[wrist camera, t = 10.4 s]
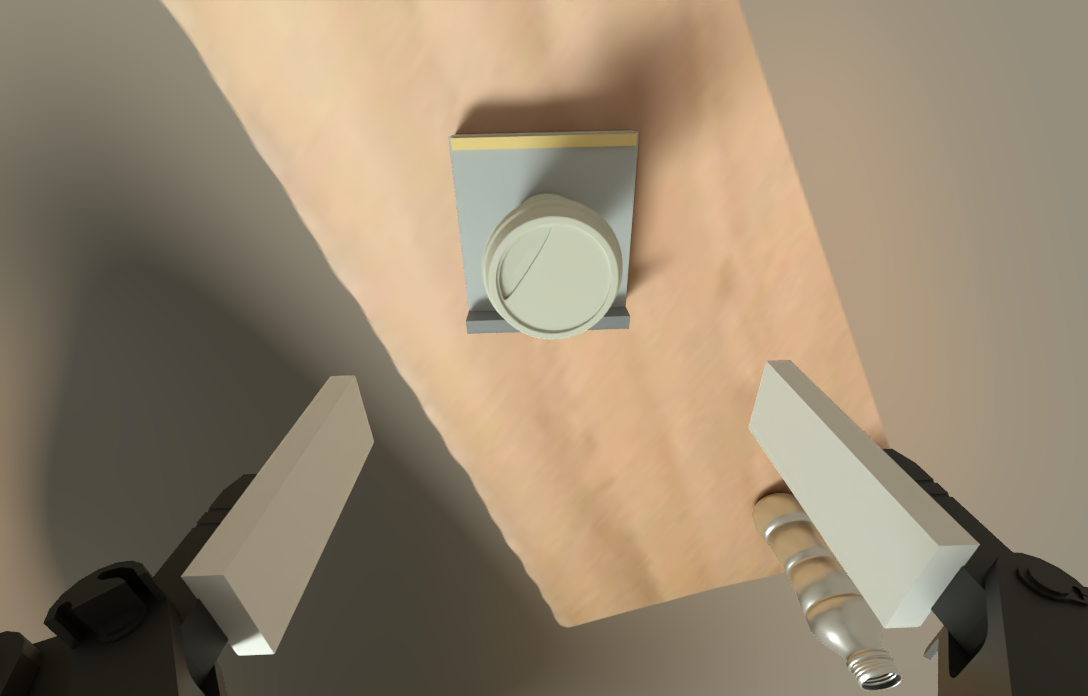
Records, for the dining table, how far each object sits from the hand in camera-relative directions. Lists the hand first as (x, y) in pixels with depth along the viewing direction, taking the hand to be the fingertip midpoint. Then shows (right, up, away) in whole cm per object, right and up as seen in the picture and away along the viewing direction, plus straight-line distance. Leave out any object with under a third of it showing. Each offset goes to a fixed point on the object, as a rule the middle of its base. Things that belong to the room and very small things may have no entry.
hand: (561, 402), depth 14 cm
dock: (-1, +13, +23) cm, 27 cm away
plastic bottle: (+29, -18, +42) cm, 54 cm away
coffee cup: (0, +11, +21) cm, 24 cm away
